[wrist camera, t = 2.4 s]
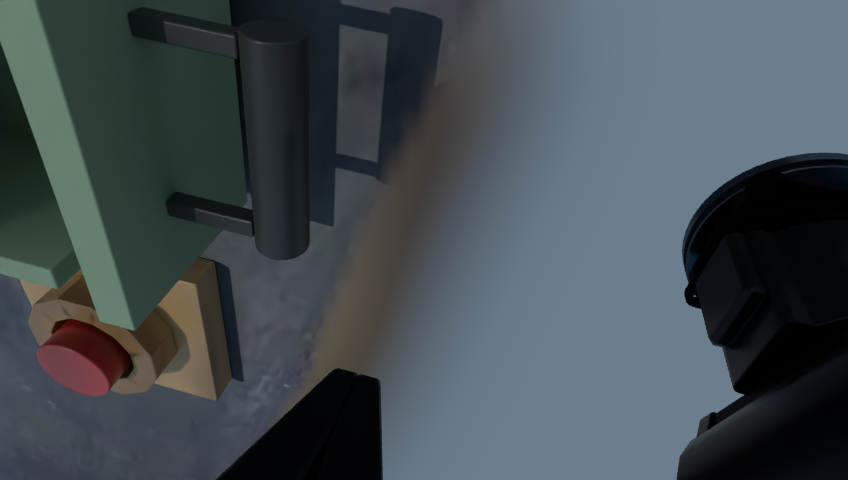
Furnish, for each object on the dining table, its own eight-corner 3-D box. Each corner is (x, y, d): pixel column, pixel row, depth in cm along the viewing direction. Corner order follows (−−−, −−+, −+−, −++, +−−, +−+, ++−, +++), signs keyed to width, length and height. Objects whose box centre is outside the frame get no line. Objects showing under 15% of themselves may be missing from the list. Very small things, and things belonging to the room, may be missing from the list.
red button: (123, 328, 26) (98, 357, 25) (139, 376, 28) (116, 404, 27) (54, 309, 26) (25, 336, 25) (75, 358, 28) (49, 385, 27)
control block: (214, 261, 26) (172, 312, 24) (232, 377, 32) (199, 429, 29) (25, 212, 27) (-36, 256, 25) (75, 334, 33) (29, 380, 30)
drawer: (370, -108, 15) (240, -61, 9) (351, 226, 22) (272, 369, 16) (-205, -213, 16) (-614, -229, 11) (-49, 129, 24) (-246, 227, 18)
